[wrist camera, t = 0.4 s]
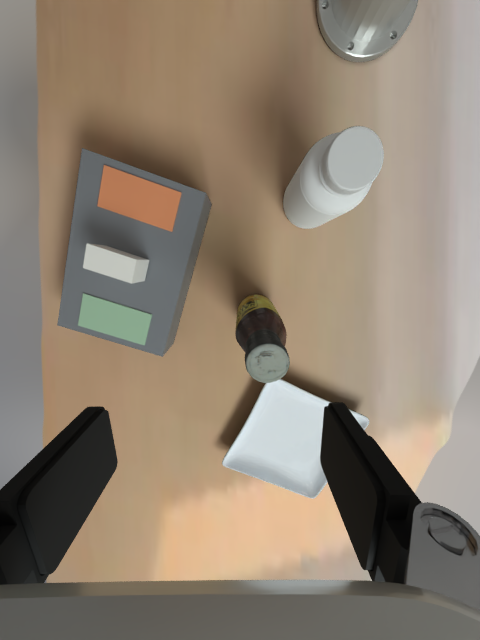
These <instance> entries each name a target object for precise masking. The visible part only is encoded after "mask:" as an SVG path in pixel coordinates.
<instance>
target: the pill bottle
mask: <svg viewBox="0 0 480 640" xmlns="http://www.w3.org/2000/svg"><path fill="white" fill-rule="evenodd" d="M383 157H384V151H383V146H382V143H381V140H380V138H379V137H378V135H377V134H376V133H375V132H374V131H372V130H371V129H369V128H367V127H363V126H353V127H349V128H347V129H345V130H343V131H341V132H340V133H334V134H331V135H328V136H326V137H324V138H322V139H321V140H319V141H318V142H317V143H315V144H314V145H313V146H312V148H311V149H310V150H309V151H308V153H307V154H306V156H305V158H304V159H303V161H302V163H301V164H300V166H299V168H298V169H297V171H296V173H295V174H294V176H293V178H292V179H291V181H290V183H289V184H288V186H287V188H286V191H285V194H284V199H283V207H284V211H285V214H286V216H287V218H288V219H289V221H290V222H291V223H292V224H294V225H295V226H297V227H300V228H304V229H310V228H315V227H318V226H320V225H322V224H324V223H326V222H328V221H330V220H332V219H334V218H336V217H338V216H340V215H342V214H344V213H346V212H348V211H350V210H352V209H353V208H355V207H356V206H357V205H358V204H359V203H360V202H361V201H362V200H363V199H364V197H365V196H366V194H367V193H368V191H369V189H370V187H371V184H372V182H373V181H374V180H375V178H376V176H378V173H379V172H380V170H381V167H382V164H383Z"/></svg>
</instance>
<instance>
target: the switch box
mask: <svg viewBox="0 0 480 640" xmlns="http://www.w3.org/2000/svg"><path fill="white" fill-rule="evenodd" d="M211 205H212V204H211V202H210V200H209V198H208V196H207V194H206V193H205V192H202V191H199V190H196V189H194V188H191V187H188V186H185V185H183V184H180V183H177V182H174V181H172V180H169V179H166V178H163V177H161V176H158V175H155V174H152V173H149V172H147V171H144V170H141V169H138V168H136V167H133V166H130V165H127V164H125V163H122V162H119V161H116V160H114V159H111V158H108V157H105V156H103V155H100V154H97V153H94V152H91V151H89V150H86V149H83V148H82V153H81V160H80V167H79V174H78V182H77V189H76V196H75V203H74V210H73V218H72V225H71V232H70V239H69V246H68V253H67V261H66V268H65V275H64V282H63V289H62V297H61V304H60V311H59V318H58V326H62V327H65V328H69V329H72V330H75V331H79V332H82V333H85V334H89V335H92V336H95V337H99V338H102V339H105V340H109V341H112V342H115V343H119V344H122V345H125V346H129V347H132V348H135V349H139V350H142V351H145V352H149V353H152V354H156V355H159V356H162V357H163V356H164V354H165V353H166V352H167V351H168V349H169V348H170V347H171V346H172V345H173V343H174V340H175V336H176V333H177V329H178V325H179V322H180V318H181V314H182V311H183V307H184V303H185V300H186V296H187V292H188V289H189V285H190V282H191V278H192V274H193V271H194V267H195V263H196V260H197V256H198V252H199V249H200V245H201V241H202V238H203V234H204V231H205V227H206V223H207V220H208V216H209V212H210V209H211ZM87 243H89V244H97V245H105V246H109V247H112V248H115V249H118V250H121V251H124V252H127V253H130V254H133V255H136V256H139V257H142V258H145V259H148V260H149V264H148V269H147V273H146V278H145V281H142V282H137V283H132V284H131V283H128V282H125V281H122V280H119V279H116V278H113V277H109V276H106V275H103V274H100V273H97V272H94V271H91V270H88V269H84V268H83V264H84V257H85V251H86V244H87Z"/></svg>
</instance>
